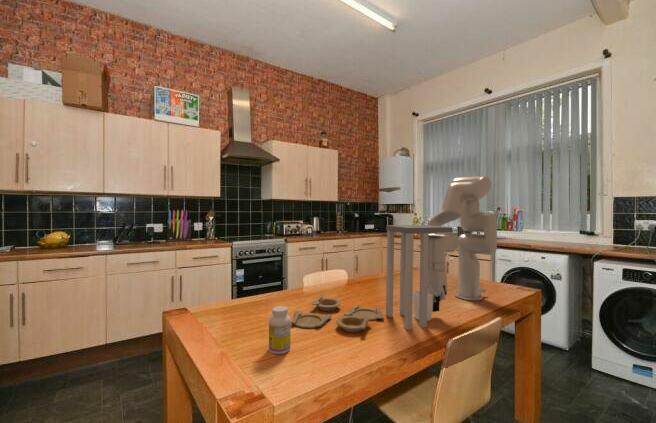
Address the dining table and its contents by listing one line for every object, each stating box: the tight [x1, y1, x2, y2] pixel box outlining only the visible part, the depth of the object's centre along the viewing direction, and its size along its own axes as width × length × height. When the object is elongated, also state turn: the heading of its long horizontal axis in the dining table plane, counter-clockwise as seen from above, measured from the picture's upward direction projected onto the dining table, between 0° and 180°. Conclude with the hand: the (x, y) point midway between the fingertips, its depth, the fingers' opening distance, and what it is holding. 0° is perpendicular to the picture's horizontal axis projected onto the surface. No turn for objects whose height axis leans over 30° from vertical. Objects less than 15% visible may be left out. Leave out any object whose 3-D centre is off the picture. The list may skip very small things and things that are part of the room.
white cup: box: [412, 290, 434, 322], centre depth 119 cm, size 8×8×10 cm
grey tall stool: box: [385, 224, 453, 331], centre depth 117 cm, size 20×15×37 cm
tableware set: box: [291, 294, 385, 333], centre depth 118 cm, size 35×29×4 cm
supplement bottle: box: [268, 305, 292, 355], centre depth 91 cm, size 7×7×13 cm
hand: (434, 310), depth 121 cm, fingers closed
